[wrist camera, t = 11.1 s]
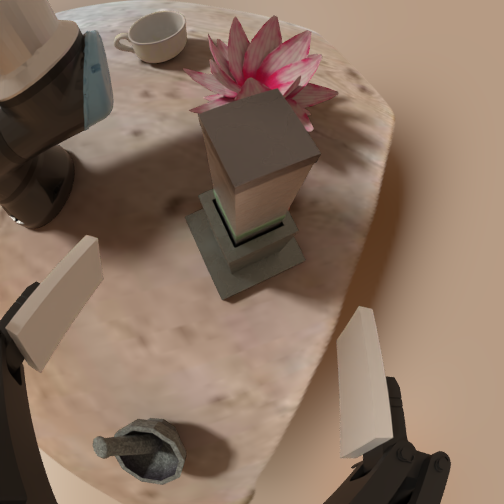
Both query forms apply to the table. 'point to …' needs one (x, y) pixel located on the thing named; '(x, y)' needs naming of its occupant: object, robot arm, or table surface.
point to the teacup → (156, 36)
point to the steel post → (256, 162)
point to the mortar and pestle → (145, 450)
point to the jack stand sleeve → (241, 250)
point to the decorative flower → (263, 69)
